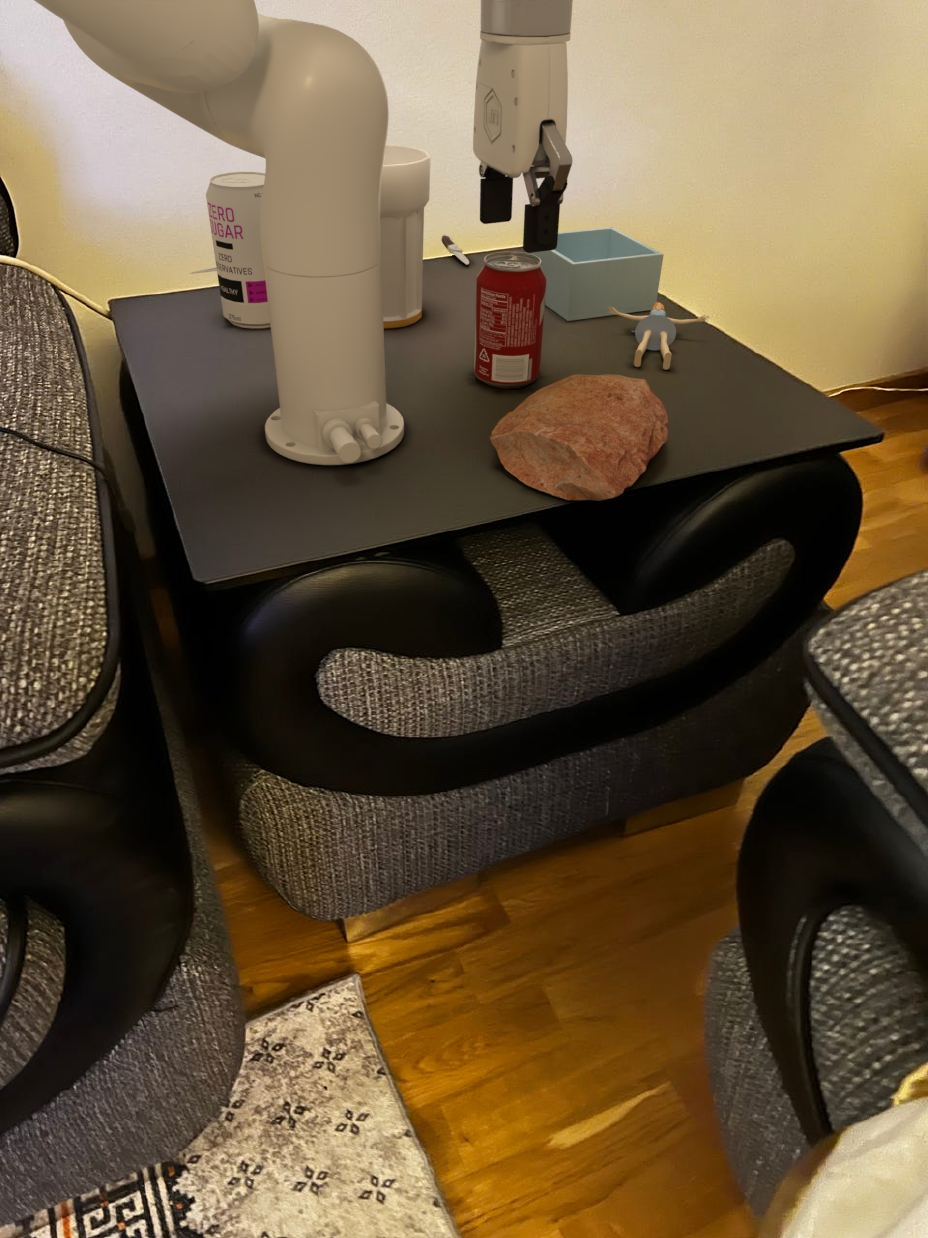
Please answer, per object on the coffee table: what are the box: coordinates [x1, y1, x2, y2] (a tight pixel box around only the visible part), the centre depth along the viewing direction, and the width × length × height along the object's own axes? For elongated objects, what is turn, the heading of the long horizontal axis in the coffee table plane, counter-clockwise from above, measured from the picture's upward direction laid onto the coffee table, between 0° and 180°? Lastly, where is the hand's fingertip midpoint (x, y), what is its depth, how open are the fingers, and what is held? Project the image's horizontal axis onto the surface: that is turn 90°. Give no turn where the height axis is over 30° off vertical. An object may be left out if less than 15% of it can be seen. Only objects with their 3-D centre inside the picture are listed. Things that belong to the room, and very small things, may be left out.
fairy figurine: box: [607, 301, 710, 371], centre depth 100 cm, size 12×5×12 cm
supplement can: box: [205, 171, 271, 329], centre depth 101 cm, size 8×8×15 cm
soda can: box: [473, 250, 546, 390], centre depth 90 cm, size 7×7×12 cm
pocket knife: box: [441, 234, 470, 266], centre depth 127 cm, size 14×1×2 cm
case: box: [525, 226, 665, 322], centre depth 111 cm, size 12×12×7 cm
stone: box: [489, 373, 669, 502], centre depth 80 cm, size 14×6×20 cm
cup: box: [380, 143, 431, 330], centre depth 102 cm, size 11×11×17 cm
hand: (516, 235), depth 85 cm, fingers open, 9 cm apart
